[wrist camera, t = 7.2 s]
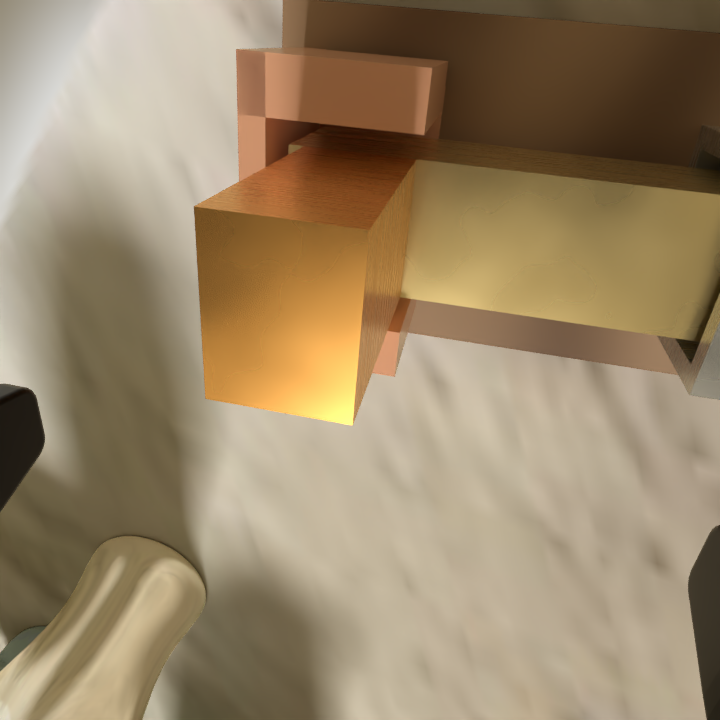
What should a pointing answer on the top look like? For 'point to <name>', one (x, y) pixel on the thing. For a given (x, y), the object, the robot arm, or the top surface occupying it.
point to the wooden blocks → (436, 255)
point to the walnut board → (540, 120)
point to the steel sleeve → (716, 349)
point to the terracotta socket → (336, 117)
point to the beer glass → (107, 637)
